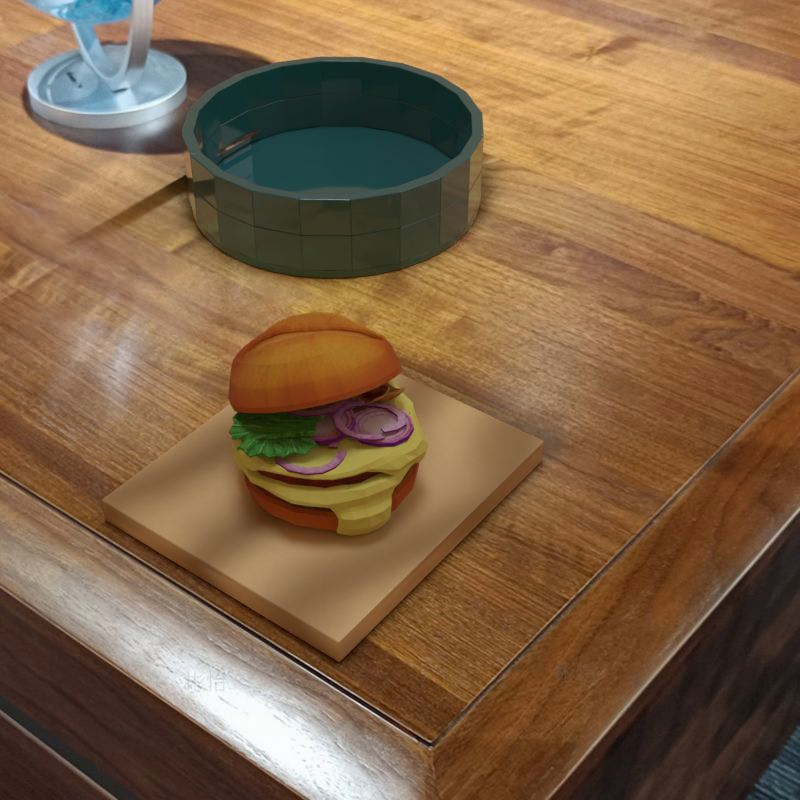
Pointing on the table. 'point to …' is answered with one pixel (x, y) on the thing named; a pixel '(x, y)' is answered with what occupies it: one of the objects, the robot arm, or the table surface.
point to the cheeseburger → (324, 424)
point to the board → (319, 548)
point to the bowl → (334, 166)
